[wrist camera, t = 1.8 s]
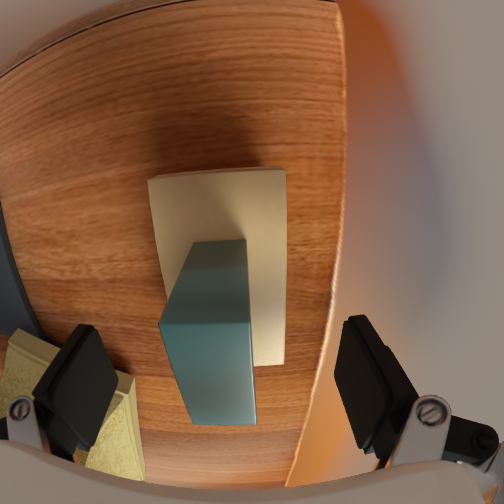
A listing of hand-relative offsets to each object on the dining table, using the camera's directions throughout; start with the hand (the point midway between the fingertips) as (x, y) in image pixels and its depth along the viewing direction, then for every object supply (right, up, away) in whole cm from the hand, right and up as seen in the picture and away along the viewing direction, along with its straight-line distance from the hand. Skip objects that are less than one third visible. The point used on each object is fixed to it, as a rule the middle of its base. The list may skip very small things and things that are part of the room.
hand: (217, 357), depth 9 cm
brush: (0, +3, +7) cm, 8 cm away
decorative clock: (-18, -17, +14) cm, 29 cm away
